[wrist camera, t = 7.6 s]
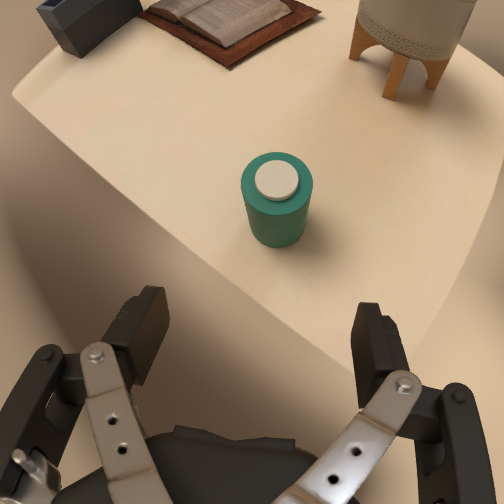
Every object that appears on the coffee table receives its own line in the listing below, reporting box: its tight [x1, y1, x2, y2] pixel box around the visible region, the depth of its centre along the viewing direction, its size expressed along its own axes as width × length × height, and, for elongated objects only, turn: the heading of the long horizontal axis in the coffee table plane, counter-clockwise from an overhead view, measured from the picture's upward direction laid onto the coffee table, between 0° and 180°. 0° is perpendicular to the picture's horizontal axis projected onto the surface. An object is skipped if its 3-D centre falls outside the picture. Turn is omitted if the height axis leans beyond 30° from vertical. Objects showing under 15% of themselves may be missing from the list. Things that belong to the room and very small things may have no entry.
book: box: [137, 0, 322, 68], centre depth 41 cm, size 20×28×4 cm
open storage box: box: [36, 0, 143, 58], centre depth 39 cm, size 15×9×12 cm, turn 141°
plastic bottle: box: [241, 152, 313, 248], centre depth 28 cm, size 5×5×9 cm
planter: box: [349, 0, 477, 100], centre depth 28 cm, size 13×13×18 cm
